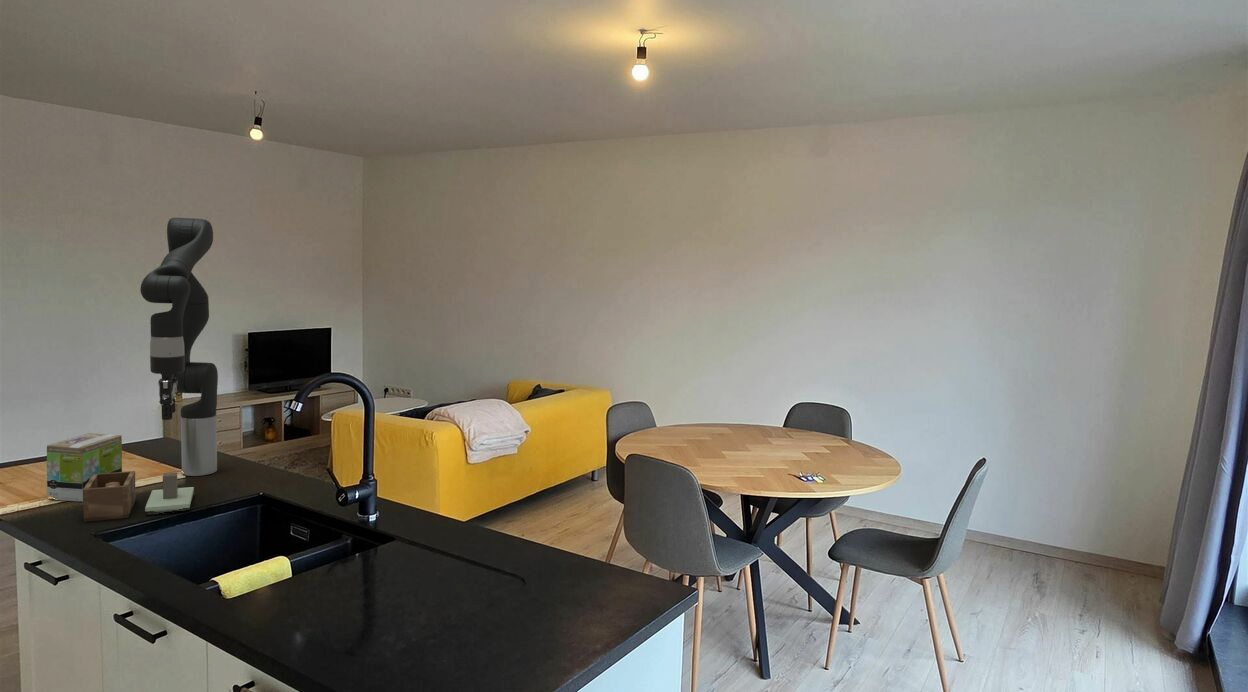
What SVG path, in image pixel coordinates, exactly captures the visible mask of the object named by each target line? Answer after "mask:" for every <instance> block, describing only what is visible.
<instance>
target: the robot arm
mask: <svg viewBox="0 0 1248 692" xmlns="http://www.w3.org/2000/svg"><path fill="white" fill-rule="evenodd" d="M166 227H167V228H166V238H167V247H168V248H167V249H168V253H167V254H166V255H165V256H164V258H163V260H162V261H161V263H160V265H159V266H157V267H156V268H155V269H154V270H152V271H150V272H148V274H146V276H145V277H144V278H143V280H142V282H141V284H140V289H139V290H140V295H141V297H142V298H143V299H144V300H145V301H146V302H148V303H152V304H171V306H172V307H171V309H169V310H168V311H162V312H157V313H156V312H155V313H153V314H152V315H151V316H150V320H149V321H150V342H149V361H150V364H149V365H150V372H151V373H152V374H155V375H161V378H159V380H158V383H157V384H158V395H159V396H158V397H159V401H158V403H159V404H160V406H161V419H162V421H163V420H164V421H168V420H169V421H170V420H172V419H173V413H175V412H176V398H177V393H179V394H200V399H199V400H197V401H195V402H192V403H188V404H186V405H183V406H182V407H180V408H181V409H180V440H181V441H180V443H181V444H180V445H181V446H180V447H181V448H180V449H181V452H180V453H181V472H182V471H183V472H184V474H185V475H184V476H191V477H198V476H199V477H200V476H206V475H210V474H211V475H212V474H214V473H216V472H217V470H218V448H217V447H218V443H217V442H218V439H217V438H218V436H217V434H218V433H217V430H218V429H217V405H218V383H219V381H218V380H219V374H218V368H217V366H216V364H215V363H213V362H203V361H202V362H197V361H196V362H195V361H191V351H192V349H193V345H194V344H195V341H196V340H197V338H198V337H199V336H200V334H201V333H202V332H203V330H204V329H205V327H206V326H207V324H208V321H209V318H210V303H209V296H208V293H207V291H206V289H205V288H204V287H203V285H202V284H201V283H200V281H199V280H198V279H197V278H196V276H195V275H194V273H193V272H192V271H193V269H194V267H195V266H196V264H198V262H199V261H200V260H201V259H202V258H203V257H204V256H205V255H206V254H207V253H208V252H209V250H210V249H211V248H212V245H213V241H214V230H213V226H212V224H211V222H210V221H209V220H207V219H203V218H194V217H193V218H192V217H191V218H190V217H171V218H170V219H168V221H167V225H166Z"/></svg>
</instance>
